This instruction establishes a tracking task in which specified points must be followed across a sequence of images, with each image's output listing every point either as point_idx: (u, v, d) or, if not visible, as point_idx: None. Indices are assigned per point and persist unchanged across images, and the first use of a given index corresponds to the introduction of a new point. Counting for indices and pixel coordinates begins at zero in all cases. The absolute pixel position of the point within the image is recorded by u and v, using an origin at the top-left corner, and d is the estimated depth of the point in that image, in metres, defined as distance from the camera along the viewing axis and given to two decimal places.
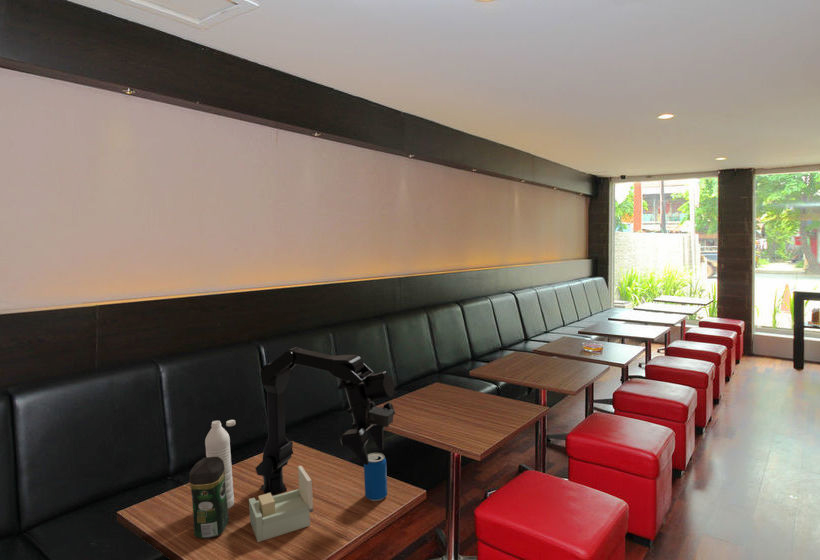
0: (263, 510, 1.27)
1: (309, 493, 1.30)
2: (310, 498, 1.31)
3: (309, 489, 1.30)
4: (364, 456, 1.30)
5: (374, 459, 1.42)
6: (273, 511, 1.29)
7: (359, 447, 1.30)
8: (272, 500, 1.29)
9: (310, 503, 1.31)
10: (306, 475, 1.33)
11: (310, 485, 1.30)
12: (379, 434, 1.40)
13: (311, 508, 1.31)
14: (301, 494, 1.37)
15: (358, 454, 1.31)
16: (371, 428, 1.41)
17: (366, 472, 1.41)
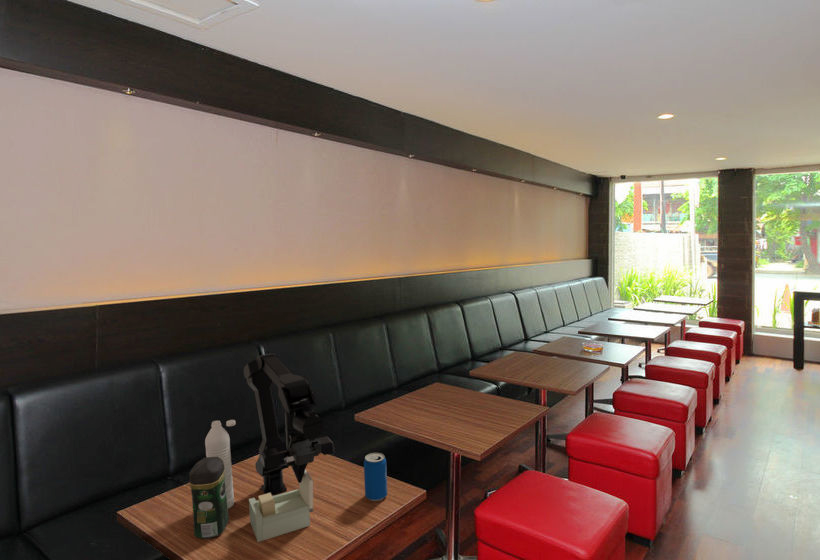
0: (263, 510, 1.27)
1: (310, 493, 1.31)
2: (311, 498, 1.31)
3: (310, 489, 1.30)
4: (295, 475, 1.33)
5: (374, 459, 1.42)
6: (273, 511, 1.29)
7: None
8: (272, 500, 1.29)
9: (310, 503, 1.31)
10: (307, 475, 1.33)
11: (311, 485, 1.31)
12: (300, 467, 1.33)
13: (311, 508, 1.31)
14: (301, 494, 1.37)
15: (293, 470, 1.34)
16: None
17: (366, 472, 1.41)
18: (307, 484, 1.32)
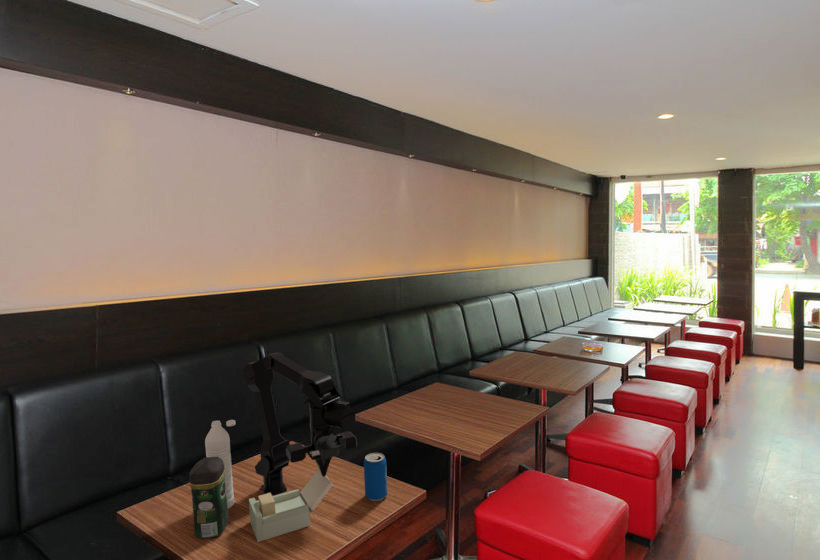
0: (263, 510, 1.27)
1: (322, 494, 1.32)
2: (319, 499, 1.32)
3: (325, 491, 1.33)
4: (319, 468, 1.36)
5: (374, 459, 1.42)
6: (273, 511, 1.29)
7: None
8: (272, 500, 1.29)
9: (315, 503, 1.31)
10: (328, 479, 1.36)
11: (328, 488, 1.33)
12: (324, 461, 1.37)
13: (312, 508, 1.31)
14: (304, 493, 1.38)
15: (317, 464, 1.37)
16: None
17: (366, 472, 1.41)
18: (324, 485, 1.34)
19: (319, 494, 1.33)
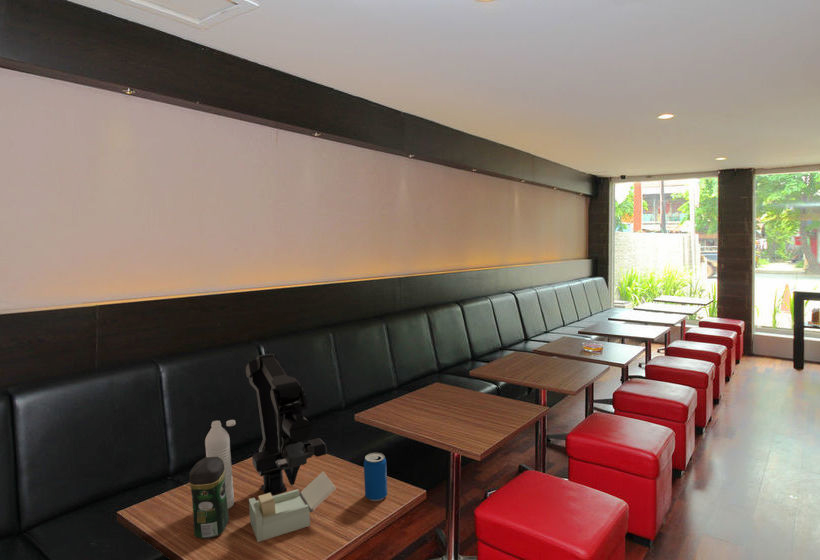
0: (263, 510, 1.27)
1: (324, 496, 1.33)
2: (321, 500, 1.32)
3: (328, 493, 1.33)
4: (287, 477, 1.32)
5: (374, 459, 1.42)
6: (273, 511, 1.29)
7: None
8: (272, 500, 1.29)
9: (316, 504, 1.32)
10: (331, 482, 1.37)
11: (331, 491, 1.33)
12: (292, 469, 1.32)
13: (312, 509, 1.31)
14: (305, 493, 1.38)
15: (285, 472, 1.33)
16: None
17: (366, 472, 1.41)
18: (327, 488, 1.35)
19: (321, 495, 1.33)
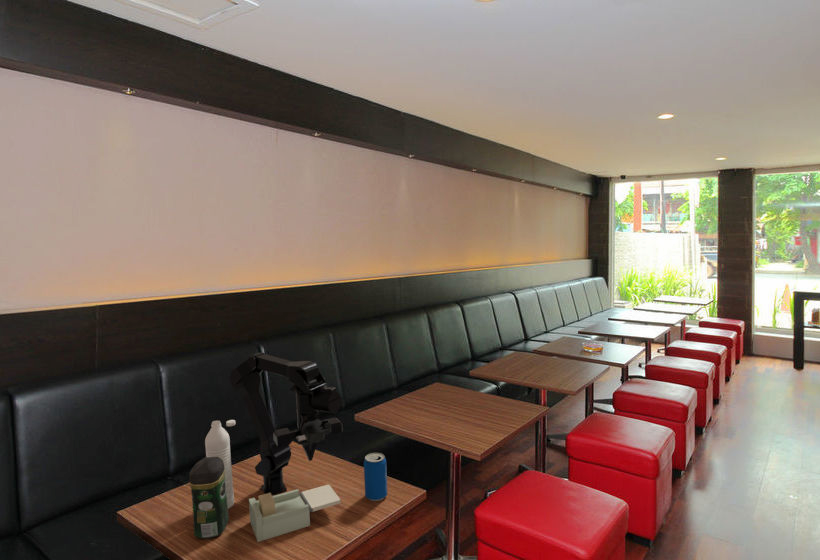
0: (263, 510, 1.27)
1: (328, 504, 1.33)
2: (323, 506, 1.33)
3: (332, 503, 1.34)
4: (306, 453, 1.40)
5: (374, 459, 1.42)
6: (273, 511, 1.29)
7: None
8: (272, 500, 1.29)
9: (318, 507, 1.32)
10: None
11: (336, 503, 1.34)
12: (311, 446, 1.41)
13: (313, 510, 1.31)
14: (307, 494, 1.38)
15: (303, 448, 1.41)
16: None
17: (366, 472, 1.41)
18: (332, 498, 1.35)
19: (325, 502, 1.34)
